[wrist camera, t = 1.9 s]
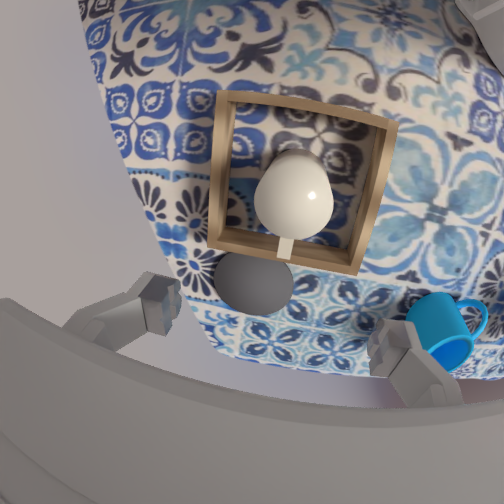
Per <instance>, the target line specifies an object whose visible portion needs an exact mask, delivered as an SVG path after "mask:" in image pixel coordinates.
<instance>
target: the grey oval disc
mask: <svg viewBox="0 0 504 504" xmlns="http://www.w3.org/2000/svg"><path fill="white" fill-rule="evenodd" d="M214 285H215V288H216V291H217V293H218V294H219V296H220V297H221V298H222V300H223V301H224V302H225V303H226V304H228V305H229V306H230V307H232V308H233V309H235V310H237V311H239V312H242V313H245V314H250V315H268V314H271V313H274V312H277V311H278V310H280V309H282V308H283V307H284V306H285V305H286V304H287V303H288V302H289V300H290V298H291V296H292V293H293V277H292V274H291V272H290V270H289V268H288V266H287V265H286V264H285V263H284V262H280V261H275V260H270V259H265V258H260V257H254V256H249V255H244V254H239V253H234V252H229V253H227V254H226V255H225V256H224V257H223V258H222V259H221V260H220V261H219V263H218V265H217V267H216V269H215V272H214Z"/></svg>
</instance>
